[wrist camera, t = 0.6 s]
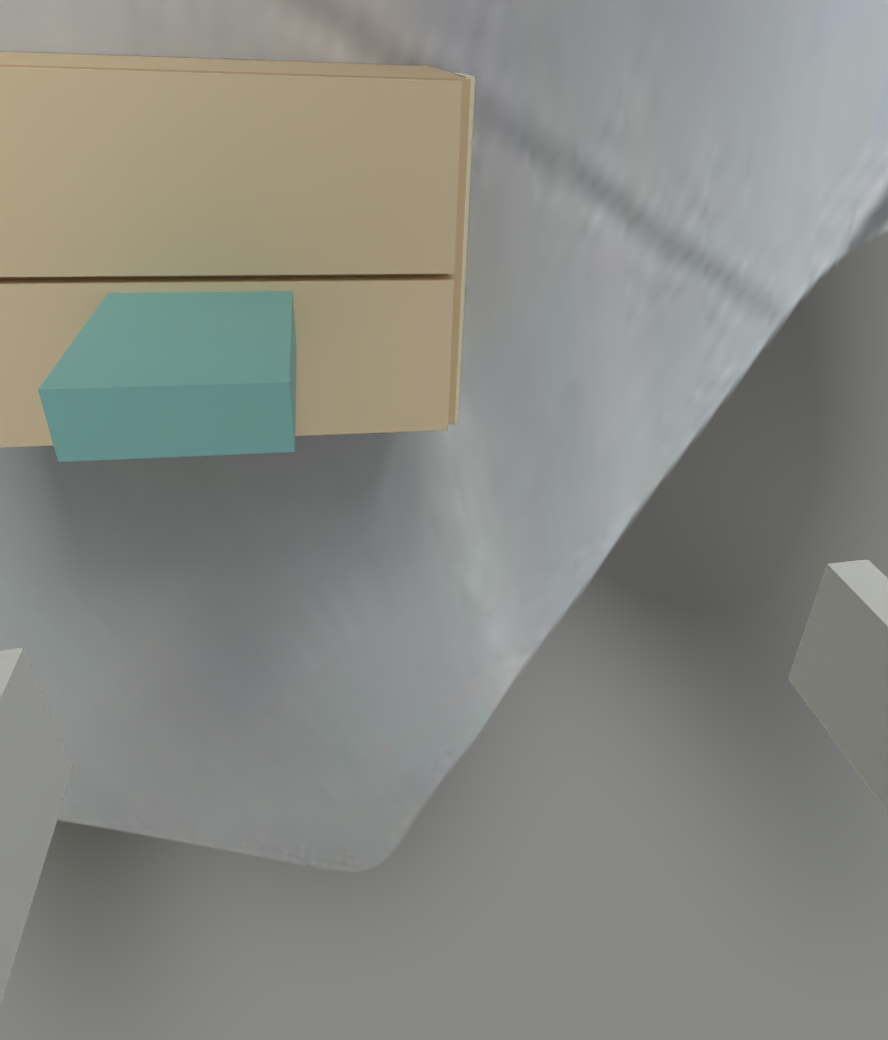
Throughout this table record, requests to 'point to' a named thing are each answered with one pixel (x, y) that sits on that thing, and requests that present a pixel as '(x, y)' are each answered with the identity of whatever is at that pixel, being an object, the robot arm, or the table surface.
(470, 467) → the table surface
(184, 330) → the flap
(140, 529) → the table surface
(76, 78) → the carton
